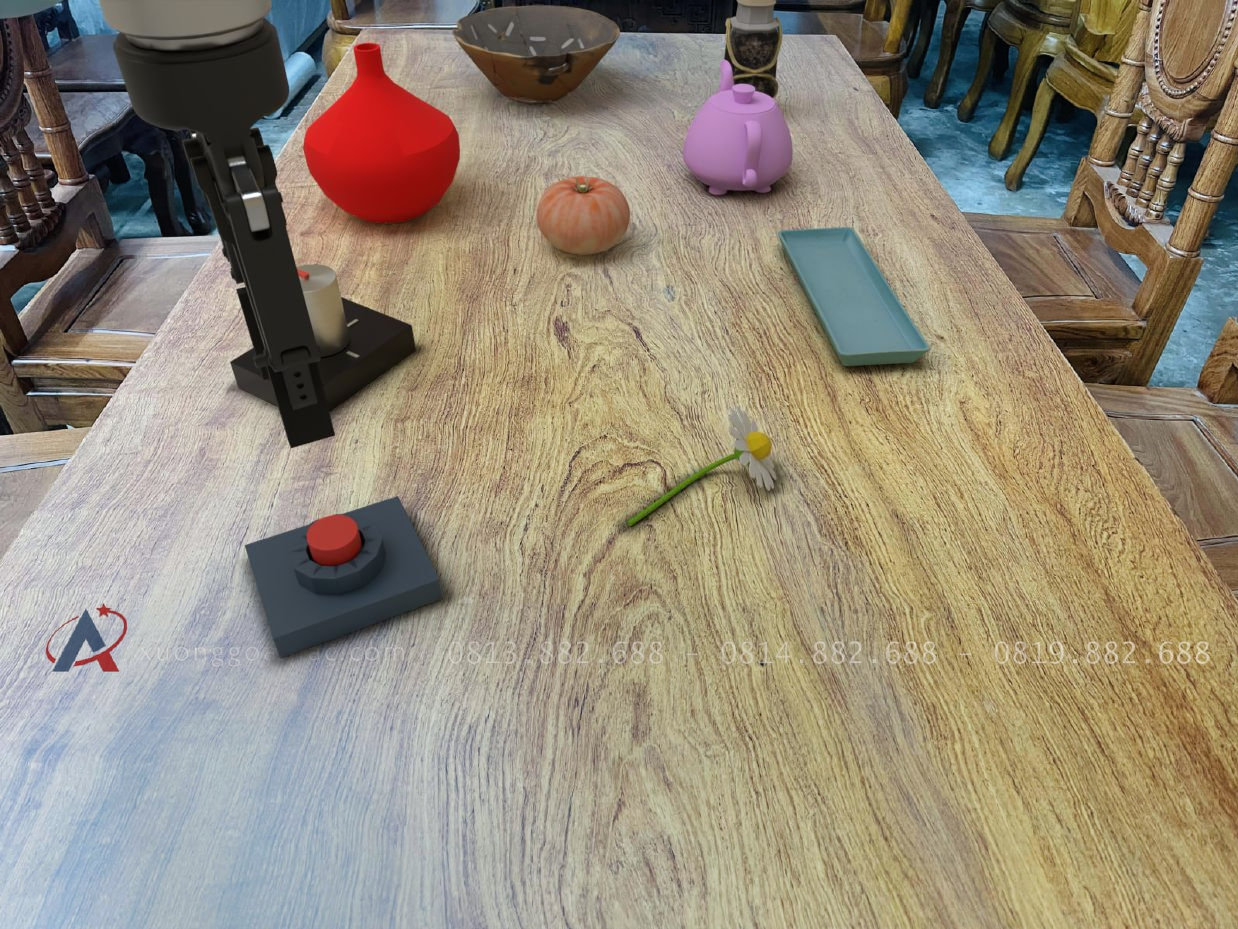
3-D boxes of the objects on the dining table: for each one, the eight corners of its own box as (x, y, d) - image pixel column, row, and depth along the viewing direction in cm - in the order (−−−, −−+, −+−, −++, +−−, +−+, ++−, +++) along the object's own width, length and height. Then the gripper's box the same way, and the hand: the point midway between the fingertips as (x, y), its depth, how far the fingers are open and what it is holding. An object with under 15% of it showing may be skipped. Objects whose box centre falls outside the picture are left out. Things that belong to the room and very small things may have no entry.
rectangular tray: (774, 245, 112) (776, 226, 110) (849, 242, 112) (853, 222, 111) (836, 375, 92) (840, 354, 91) (926, 370, 93) (932, 349, 91)
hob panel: (312, 423, 86) (305, 395, 84) (237, 387, 90) (228, 360, 88) (416, 350, 95) (412, 323, 93) (344, 320, 99) (338, 294, 97)
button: (318, 573, 68) (313, 556, 66) (306, 540, 70) (301, 524, 69) (367, 556, 69) (363, 539, 68) (354, 525, 71) (350, 508, 70)
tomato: (567, 277, 106) (565, 211, 100) (521, 238, 112) (517, 174, 107) (647, 252, 110) (649, 188, 105) (598, 216, 117) (598, 153, 112)
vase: (454, 242, 112) (434, 76, 99) (299, 239, 112) (260, 74, 99) (475, 175, 125) (460, 22, 113) (337, 173, 126) (307, 20, 113)
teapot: (668, 148, 132) (672, 58, 124) (767, 144, 134) (777, 55, 126) (694, 213, 118) (701, 116, 110) (805, 208, 119) (820, 112, 111)
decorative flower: (647, 469, 71) (770, 385, 79) (604, 482, 76) (723, 402, 84) (696, 557, 72) (813, 465, 80) (650, 565, 77) (764, 478, 85)
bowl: (638, 115, 141) (639, 46, 135) (474, 132, 136) (467, 61, 129) (594, 60, 159) (594, -4, 153) (448, 73, 154) (441, 7, 148)
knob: (360, 337, 91) (347, 270, 86) (323, 363, 88) (306, 295, 83) (323, 322, 93) (307, 255, 88) (284, 346, 90) (266, 279, 85)
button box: (280, 658, 66) (266, 622, 64) (251, 564, 73) (238, 528, 70) (443, 598, 71) (436, 562, 68) (401, 515, 77) (394, 479, 75)
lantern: (769, 105, 145) (789, -79, 128) (779, 126, 139) (802, -65, 122) (712, 106, 144) (726, -79, 128) (720, 127, 138) (735, -65, 122)
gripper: (89, -19, 51) (208, 340, 66) (134, 108, 37) (271, 520, 53) (233, -35, 53) (316, 313, 68) (323, 78, 40) (401, 479, 55)
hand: (296, 403), depth 60 cm, fingers open, 7 cm apart
